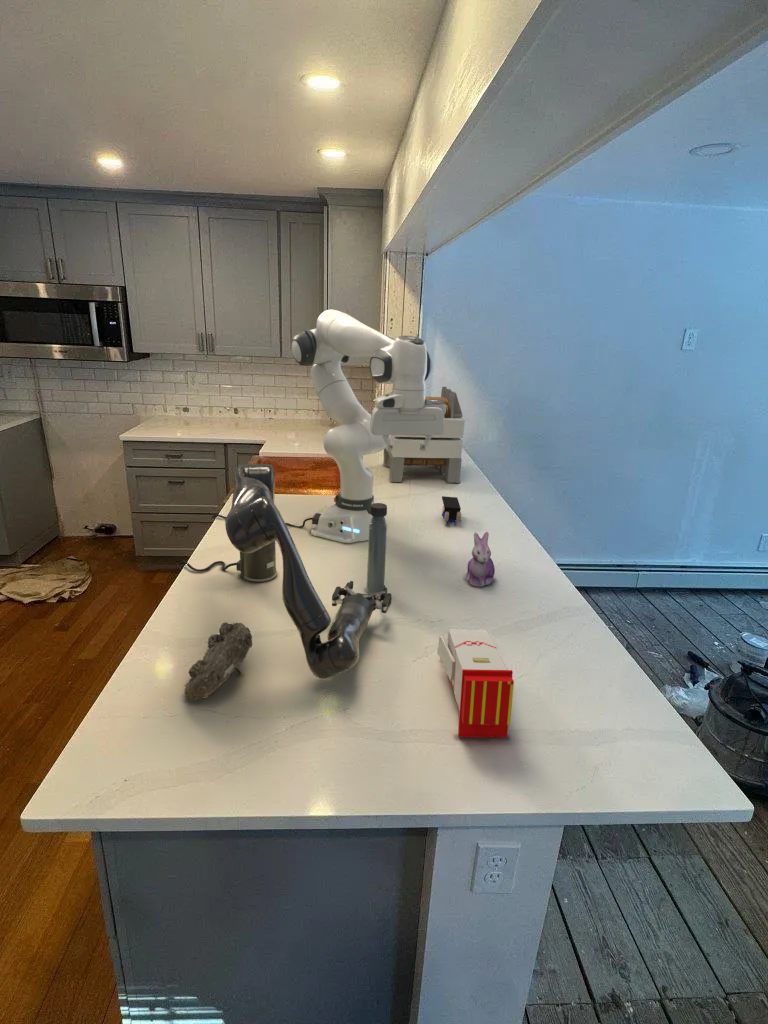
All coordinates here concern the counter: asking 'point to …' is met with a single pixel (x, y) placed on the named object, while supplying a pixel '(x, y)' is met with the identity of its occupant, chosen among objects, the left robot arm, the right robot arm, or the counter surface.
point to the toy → (478, 682)
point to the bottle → (376, 554)
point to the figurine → (480, 562)
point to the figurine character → (451, 509)
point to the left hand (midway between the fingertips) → (367, 586)
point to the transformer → (431, 445)
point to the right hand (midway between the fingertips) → (406, 450)
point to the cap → (378, 510)
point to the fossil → (218, 660)
